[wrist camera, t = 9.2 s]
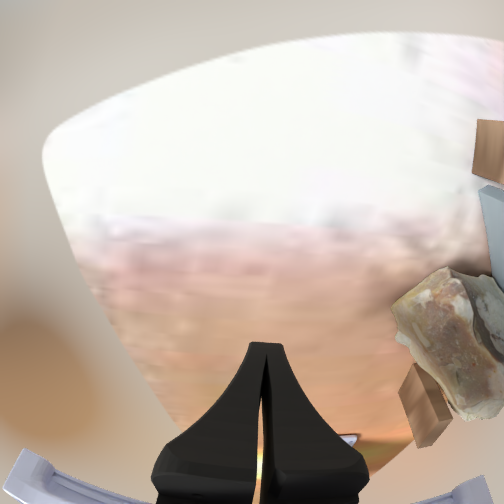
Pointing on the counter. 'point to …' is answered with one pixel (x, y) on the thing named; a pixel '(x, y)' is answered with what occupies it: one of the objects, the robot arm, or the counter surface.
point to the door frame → (418, 380)
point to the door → (494, 229)
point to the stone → (457, 338)
